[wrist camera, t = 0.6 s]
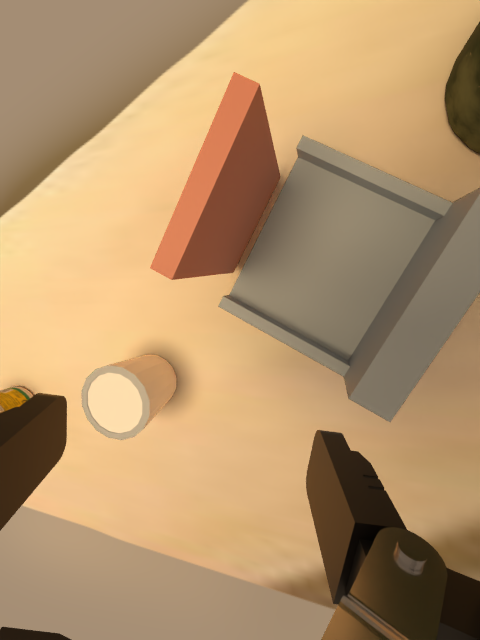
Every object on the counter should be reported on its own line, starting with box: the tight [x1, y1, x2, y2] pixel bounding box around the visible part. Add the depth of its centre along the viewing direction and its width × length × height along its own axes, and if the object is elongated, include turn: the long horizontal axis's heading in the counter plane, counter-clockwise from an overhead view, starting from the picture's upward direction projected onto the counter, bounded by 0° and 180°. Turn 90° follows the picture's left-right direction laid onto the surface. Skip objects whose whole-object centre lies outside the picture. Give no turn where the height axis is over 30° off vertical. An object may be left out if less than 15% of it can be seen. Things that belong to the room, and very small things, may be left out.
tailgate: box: [150, 72, 280, 280], centre depth 22 cm, size 2×9×15 cm, turn 152°
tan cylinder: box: [82, 354, 177, 440], centre depth 33 cm, size 7×7×7 cm
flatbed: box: [218, 136, 480, 422], centre depth 26 cm, size 15×15×9 cm
